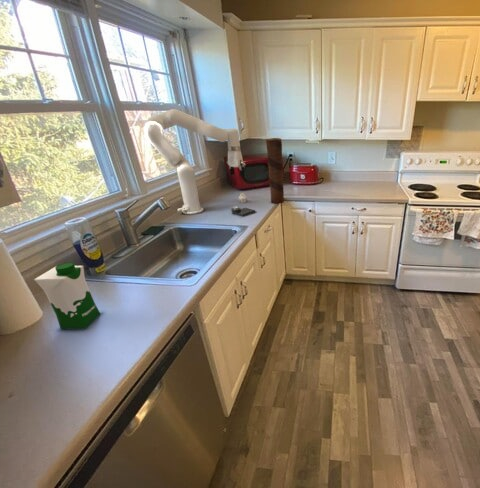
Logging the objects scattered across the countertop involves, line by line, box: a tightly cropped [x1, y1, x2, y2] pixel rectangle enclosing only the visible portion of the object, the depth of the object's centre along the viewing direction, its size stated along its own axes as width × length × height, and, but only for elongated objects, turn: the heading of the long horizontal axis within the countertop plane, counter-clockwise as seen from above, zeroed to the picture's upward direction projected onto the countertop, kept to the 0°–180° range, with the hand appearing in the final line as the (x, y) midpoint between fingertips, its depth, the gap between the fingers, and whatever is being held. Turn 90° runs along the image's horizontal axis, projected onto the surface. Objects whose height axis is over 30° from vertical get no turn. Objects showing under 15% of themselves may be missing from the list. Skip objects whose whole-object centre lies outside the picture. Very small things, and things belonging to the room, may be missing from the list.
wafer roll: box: [265, 137, 285, 204], centre depth 200 cm, size 10×11×45 cm
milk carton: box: [33, 261, 101, 330], centre depth 83 cm, size 9×9×20 cm
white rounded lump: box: [238, 192, 248, 204], centre depth 206 cm, size 6×6×7 cm
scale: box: [230, 207, 256, 218], centre depth 185 cm, size 12×11×3 cm
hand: (237, 175), depth 192 cm, fingers open, 9 cm apart
